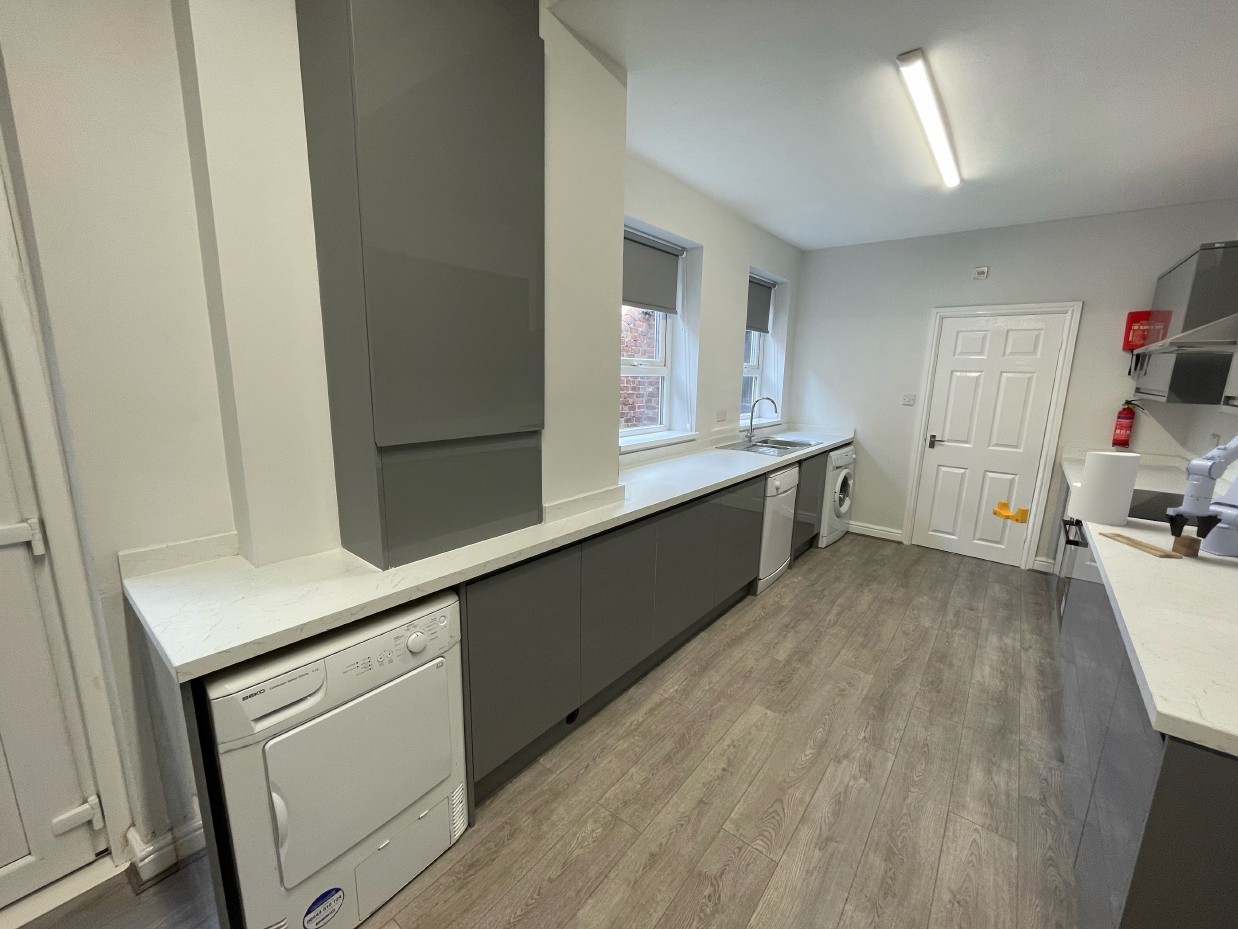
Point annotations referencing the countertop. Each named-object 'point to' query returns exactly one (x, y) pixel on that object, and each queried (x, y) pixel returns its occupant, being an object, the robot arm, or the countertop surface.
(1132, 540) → the oak board
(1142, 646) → the countertop surface
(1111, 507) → the cylinder
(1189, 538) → the block
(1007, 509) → the mounting bracket
